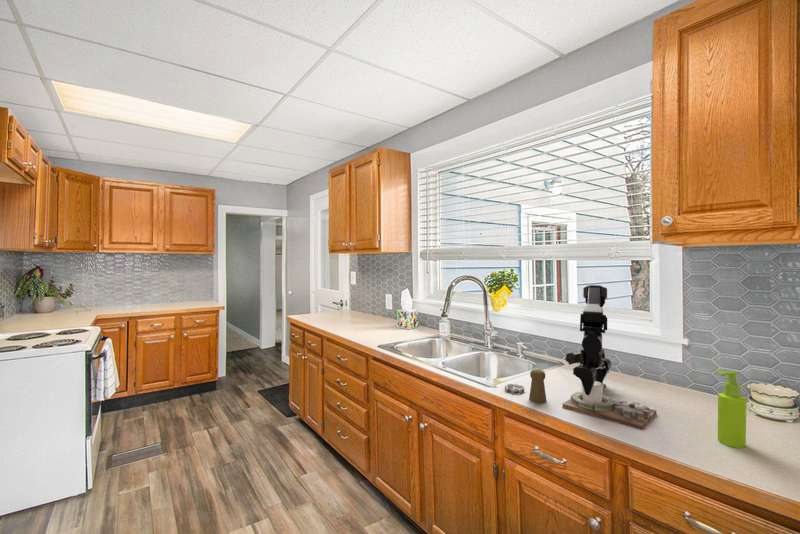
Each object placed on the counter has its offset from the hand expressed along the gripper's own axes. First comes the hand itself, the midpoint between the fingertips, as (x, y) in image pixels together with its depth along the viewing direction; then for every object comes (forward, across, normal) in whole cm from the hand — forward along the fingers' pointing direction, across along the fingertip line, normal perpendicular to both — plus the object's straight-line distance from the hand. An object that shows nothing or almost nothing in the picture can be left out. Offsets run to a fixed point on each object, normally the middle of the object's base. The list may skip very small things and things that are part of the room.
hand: (592, 391), depth 131 cm
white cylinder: (+4, 0, 0) cm, 4 cm away
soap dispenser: (+5, 0, +36) cm, 36 cm away
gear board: (+5, 0, +5) cm, 7 cm away
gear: (+5, +5, -27) cm, 28 cm away
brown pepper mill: (+5, +8, -16) cm, 19 cm away
